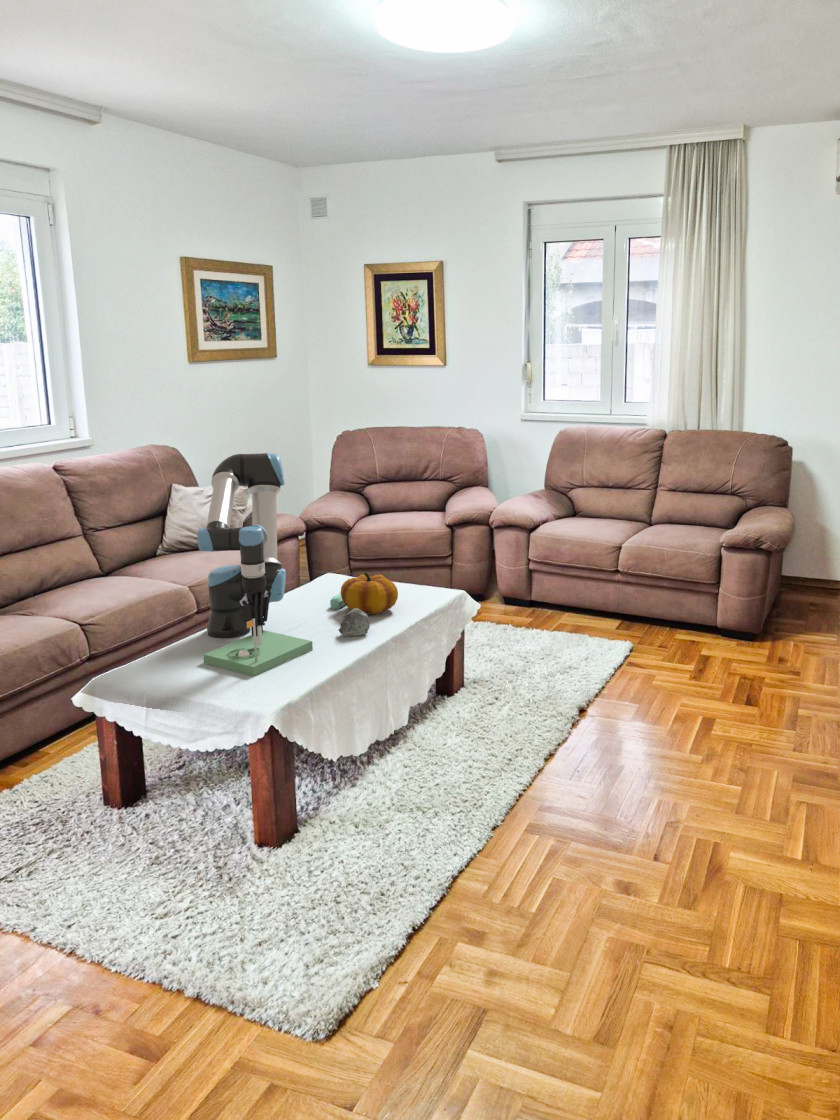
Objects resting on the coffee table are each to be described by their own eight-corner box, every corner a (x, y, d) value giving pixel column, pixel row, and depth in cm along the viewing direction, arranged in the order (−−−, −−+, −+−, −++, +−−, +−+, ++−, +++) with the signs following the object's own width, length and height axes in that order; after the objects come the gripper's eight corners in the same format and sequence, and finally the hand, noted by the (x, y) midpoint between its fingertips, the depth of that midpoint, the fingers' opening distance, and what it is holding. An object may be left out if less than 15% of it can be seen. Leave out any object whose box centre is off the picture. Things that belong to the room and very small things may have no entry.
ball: (246, 660, 298) (240, 666, 294) (238, 650, 297) (233, 657, 293) (254, 655, 296) (249, 662, 292) (246, 646, 295) (241, 652, 291)
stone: (353, 610, 314) (360, 601, 323) (332, 626, 317) (340, 617, 326) (371, 630, 315) (378, 621, 324) (351, 647, 318) (358, 637, 327)
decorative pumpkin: (354, 622, 333) (352, 582, 330) (335, 606, 353) (333, 568, 349) (405, 614, 341) (404, 575, 337) (383, 599, 361) (382, 562, 357)
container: (337, 595, 347) (366, 577, 369) (324, 599, 349) (354, 581, 372) (343, 609, 347) (371, 590, 369) (330, 613, 350) (359, 594, 372)
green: (264, 638, 317) (261, 591, 313) (312, 649, 305) (310, 600, 301) (203, 662, 295) (199, 612, 291) (253, 676, 283) (250, 623, 279)
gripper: (247, 581, 286) (252, 652, 292) (276, 572, 296) (280, 640, 302) (230, 578, 290) (235, 648, 296) (259, 568, 301) (263, 636, 307)
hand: (258, 644), depth 299 cm, fingers closed
